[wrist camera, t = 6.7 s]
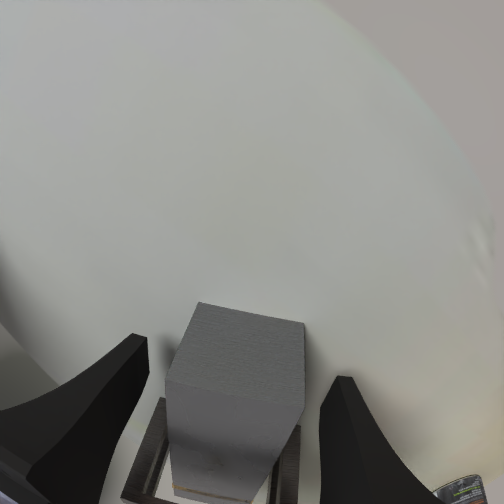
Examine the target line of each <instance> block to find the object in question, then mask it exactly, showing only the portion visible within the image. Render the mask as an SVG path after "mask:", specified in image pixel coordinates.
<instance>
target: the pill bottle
mask: <svg viewBox="0 0 504 504" xmlns="http://www.w3.org/2000/svg"><path fill="white" fill-rule="evenodd" d="M433 494H434V495H435V496H436V497H438V498H439V499H440V500H441V501H443V502H444V503H446V504H488V503H487V499H486V495H485V491H484V487H483V483H482V479H481V477H480V476H477V475H473V476H468V477H465V478H462V479H459V480H456V481H454V482H452V483H449V484H447V485H445V486H443V487H441V488H439V489H438V490H436V491H434V492H433Z"/></svg>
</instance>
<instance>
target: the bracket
mask: <svg viewBox="0 0 504 504" xmlns="http://www.w3.org/2000/svg"><path fill="white" fill-rule="evenodd" d="M300 427H301V426H298V425H296V426H295V427H294V429H293V431H292V433H291V435H290V437H289V439H288V441H287V442H286V444H285V446H284V448H283V450H282V452H281V453H280V463H279V475H278V486H277V497H276V504H297V502H298V483H299V460H300ZM167 430H168V426H167V411H166V399H164V398H161V397H160V399H159V401H158V403H157V406H156V408H155V411H154V413H153V416H152V418H151V421H150V423H149V425H148V428H147V430H146V433H145V435H144V438H143V440H142V443H141V445H140V448H139V450H138V453H137V455H136V458H135V461H134V463H133V466H132V468H131V471H130V473H129V476H128V478H127V481H126V484H125V486H124V489H123V491H122V494H121V497H120V498H121V500H122V501H123V502H124V503H126V504H177V503H173V502H169V501H166V500H163V499H159V498H155V497H153V496H149V495H146V494H145V493H146V490H147V487H148V484H149V481H150V479H151V476H152V473H153V470H154V467H155V464H156V461H157V458H158V456H159V453H160V450H161V447H162V444H163V441H164V439H165V436H166V433H167Z"/></svg>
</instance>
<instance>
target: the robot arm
mask: <svg viewBox="0 0 504 504" xmlns="http://www.w3.org/2000/svg"><path fill="white" fill-rule="evenodd" d="M149 373H150V371H149V359H148V344H147V337H144V336H141V335H137V334H134V333H132V334H130V335H129V336H128V337H127V338H125V339H124V340H123V341H122V342H121V343H120V344H118V345H117V346H116V347H115V348H113V349H112V350H111V351H110V352H109V353H107V354H106V355H105V356H104V357H102V358H101V359H100V360H98V361H97V362H96V363H94V364H93V365H92V366H90V367H89V368H88V369H86V370H85V371H83V372H82V373H80V374H79V375H77V376H76V377H75V378H73V379H71V380H70V381H68V382H67V383H65V384H63V385H62V386H60V387H58V388H56V389H54V390H52V391H51V392H48V393H46V394H44V395H42V396H40V397H38V398H36V399H34V400H31V401H29V402H26V403H23V404H21V405H18V406H15V407H12V408H9V409H5V410H2V411H0V504H99V499H100V495H101V492H102V488H103V484H104V481H105V478H106V474H107V471H108V468H109V465H110V462H111V459H112V456H113V453H114V450H115V448H116V445H117V443H118V440H119V438H120V436H121V434H122V432H123V430H124V428H125V426H126V424H127V422H128V420H129V418H130V416H131V414H132V413H133V411H134V409H135V407H136V405H137V403H138V401H139V399H140V397H141V395H142V392H143V390H144V387H145V384H146V381H147V379H148V376H149ZM319 443H320V461H321V495H320V504H446V503H444V502H443V501H441V500H440V499H439V498H438V497H436V496H435V495H434V494H433V493H432V492H431V491H429V490H428V489H427V488H426V487H425V486H424V485H423V484H422V483H421V482H420V481H419V480H418V479H417V478H416V477H415V476H414V475H413V474H412V472H411V471H410V470H409V469H408V468H407V467H406V466H405V465H404V463H403V462H402V461H401V459H400V458H399V457H398V456H397V454H396V453H395V452H394V450H393V449H392V447H391V446H390V444H389V443H388V441H387V440H386V438H385V437H384V435H383V433H382V432H381V430H380V428H379V427H378V425H377V423H376V422H375V420H374V418H373V416H372V414H371V413H370V411H369V409H368V407H367V405H366V403H365V401H364V399H363V397H362V395H361V393H360V392H359V390H358V388H357V386H356V384H355V382H354V380H353V378H352V377H345V376H337V377H336V379H335V381H334V382H333V384H332V386H331V388H330V390H329V392H328V394H327V396H326V398H325V400H324V401H323V403H322V405H321V407H320V419H319Z"/></svg>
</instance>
